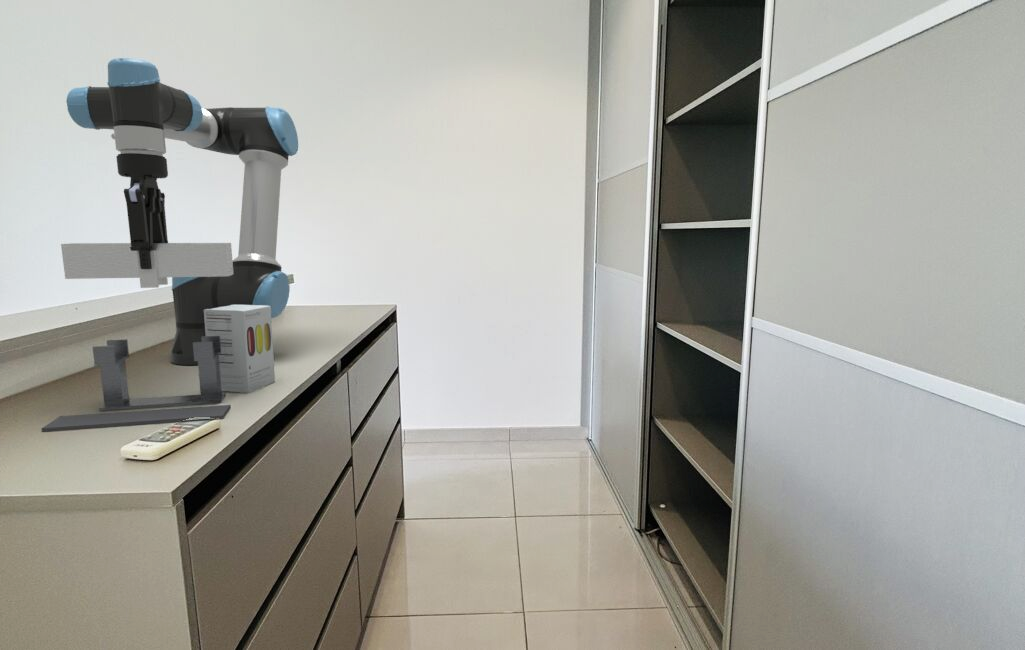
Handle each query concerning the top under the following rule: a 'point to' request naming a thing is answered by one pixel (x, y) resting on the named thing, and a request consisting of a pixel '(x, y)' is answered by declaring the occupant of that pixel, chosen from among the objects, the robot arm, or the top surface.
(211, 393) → the standards
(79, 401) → the top surface
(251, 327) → the supplement box
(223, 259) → the rail
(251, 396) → the top surface
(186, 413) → the mat
